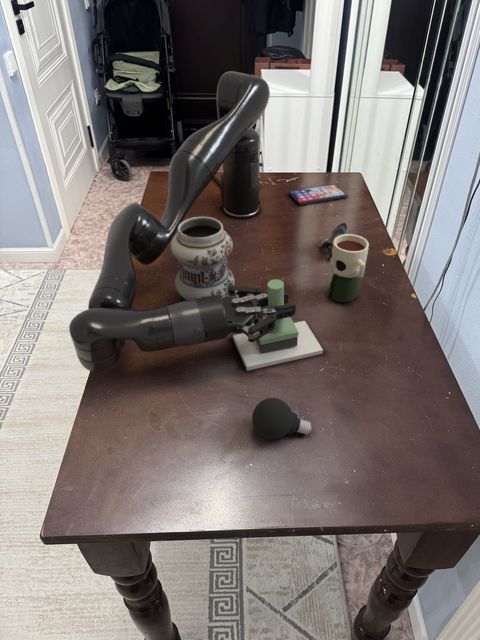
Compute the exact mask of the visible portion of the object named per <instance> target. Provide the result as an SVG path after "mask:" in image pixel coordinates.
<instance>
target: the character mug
mask: <svg viewBox="0 0 480 640" xmlns="http://www.w3.org/2000/svg"><path fill="white" fill-rule="evenodd" d="M369 247H370V243H369V241H368V240H367V239H366V238H365V237H363V236H361V235H358V234H353V233H345V234H343V235H340V236H337V237H336V238H335V239H334V243H333V248H332V257H331V259H330V260H329V261H330V262H329V267H330V271H331V273H333V274H332V277H331V280H330V283H329V286H328V296H330V295H331V299H333V300H335V301H336V302H342V303H347V302H350V301H353V300H355V299H356V298H358V296H359V278H363V277H364V275H365V269H366V263H367V258H368V253H369ZM330 293H332V294H330Z"/></svg>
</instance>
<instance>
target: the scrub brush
mask: <svg viewBox="0 0 480 640" xmlns="http://www.w3.org/2000/svg"><path fill="white" fill-rule="evenodd" d="M284 292H285V283H284V281H283V280H282V279H276V278H275V279H270V280H269V281H268V282H267V295H268V305H267V308H275V307H276V306H282V305H285V304H284ZM268 316H269V315H267V317H268ZM294 323H295V322H294V320H293V319H292V317H287V318H283V319H278V320H276V323H275V326H276V327H275V329H274V330H273V331H271V332H269V333H268V334H266V335H264V336H263V337H261V338H259V339H258V340H256V341H257V344H258V346H259V349H260V351H261V353H262V354H263V353H267V352H272V351H276V350H281V349H286V348H290V347H295V346H297V340H298V330H297V328H296V326H295V324H294Z"/></svg>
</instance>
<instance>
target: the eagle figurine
mask: <svg viewBox="0 0 480 640" xmlns="http://www.w3.org/2000/svg"><path fill="white" fill-rule="evenodd" d="M347 229H348V226H347V222H341V223H339V225H337V226H336V227H335V228H334V229H333V230H332V232H331V236H330V238H325V239H322V240H320V241H319V242H318V244H317V247H318V248H322V247H326V248H327V251H325V254H329V257H328V261H331V258H332V248H333V243H334V239H335V238H336V237H337V236H340V235H343V234H347Z"/></svg>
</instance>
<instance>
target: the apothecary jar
mask: <svg viewBox="0 0 480 640" xmlns="http://www.w3.org/2000/svg"><path fill="white" fill-rule="evenodd" d="M233 248H234V241H233V239H232V237H231V235H229V233H228V232H227V231H226V230H224V225H223V224H222V222H221V221H220V220H218V219H217V218H214V217H210V216H194V217H189V218H187V219H185V220H183V221H182V223H180V224H179V226H178V229H177V231H176V233H175V234H174V236H173V238H172V239H171V241H170V251H171V254H172V255H173V257H174V258H175V259H176V260H177V261H178V266H179V271H178V273H176V276H175V279H174V288H175V290H176V292H177V293H178V295H180V296H181V297H182V298H183V301H188V300H194V299H199V298H205V297H210V296H219V297H220V298H221V299H223V298H225V297H228V287H229V286H235V284H236V279H235V276H234V273H233V271H232V270H231V269H230V268H229V267H228V257H230V255H231V254H232V251H233Z"/></svg>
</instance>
